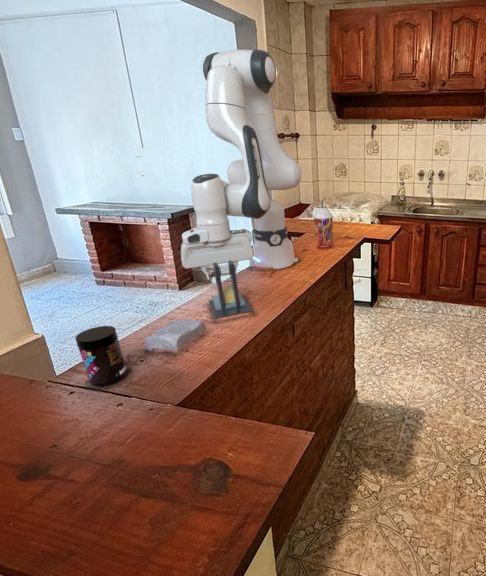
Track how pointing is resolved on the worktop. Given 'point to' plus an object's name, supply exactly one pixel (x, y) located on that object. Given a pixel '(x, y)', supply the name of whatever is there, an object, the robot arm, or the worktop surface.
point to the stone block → (174, 334)
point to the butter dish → (229, 305)
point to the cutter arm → (223, 270)
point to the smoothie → (323, 227)
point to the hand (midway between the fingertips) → (221, 277)
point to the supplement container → (101, 355)
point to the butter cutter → (224, 311)
